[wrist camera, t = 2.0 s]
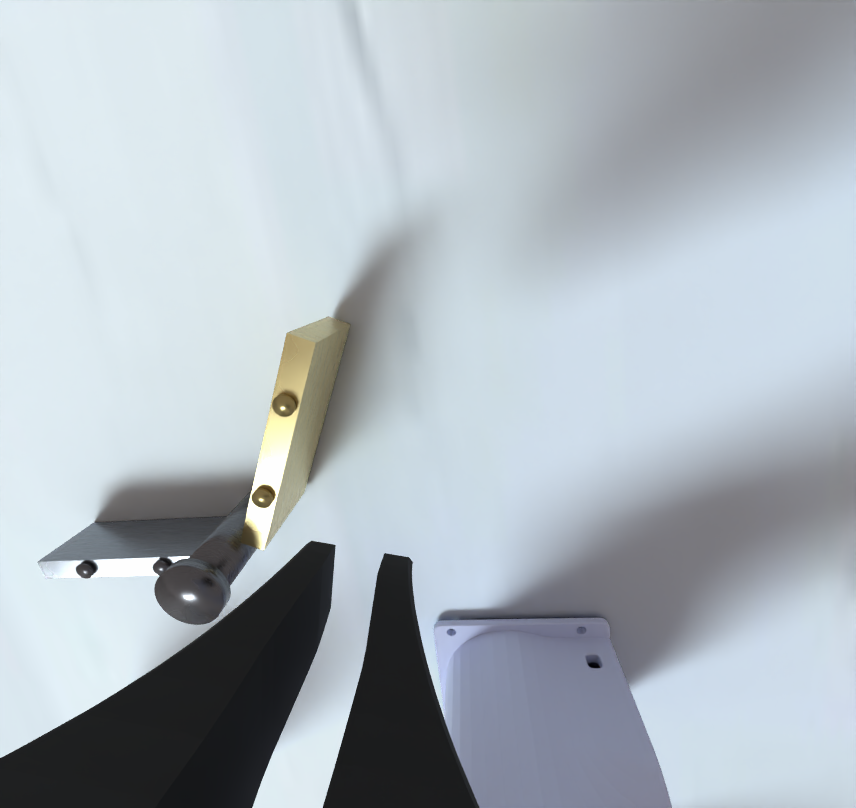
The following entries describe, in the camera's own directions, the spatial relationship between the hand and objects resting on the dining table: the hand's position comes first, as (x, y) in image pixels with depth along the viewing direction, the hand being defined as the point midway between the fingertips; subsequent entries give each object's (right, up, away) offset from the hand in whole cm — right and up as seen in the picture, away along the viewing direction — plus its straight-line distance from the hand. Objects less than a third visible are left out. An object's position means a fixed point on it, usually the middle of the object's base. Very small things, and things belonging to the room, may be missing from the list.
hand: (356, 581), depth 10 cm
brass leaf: (-4, +4, +9) cm, 11 cm away
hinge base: (-11, -1, +12) cm, 16 cm away
